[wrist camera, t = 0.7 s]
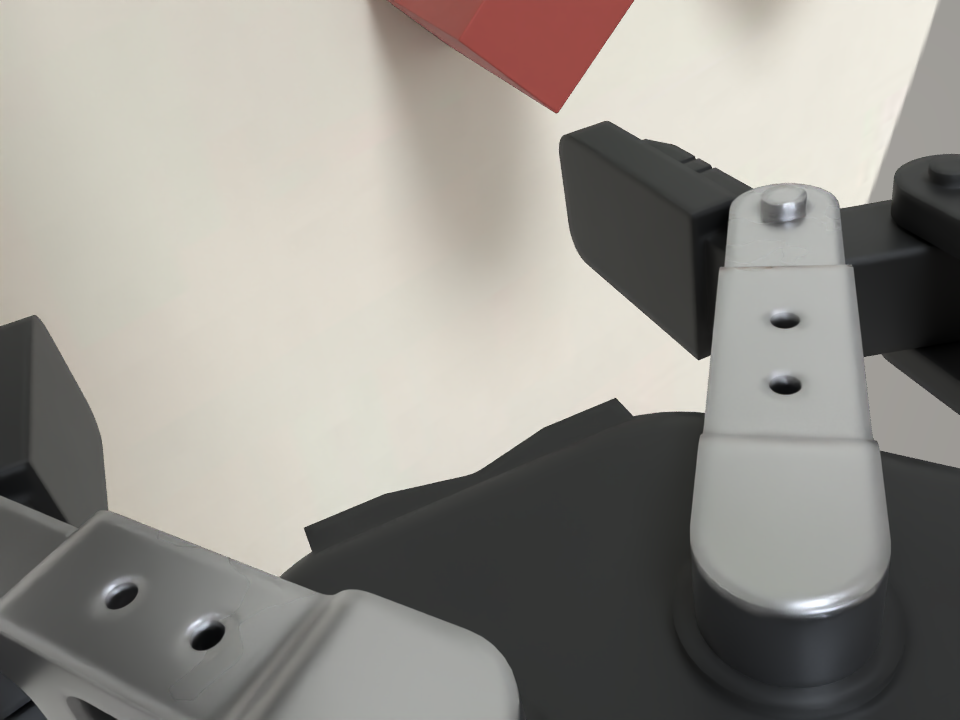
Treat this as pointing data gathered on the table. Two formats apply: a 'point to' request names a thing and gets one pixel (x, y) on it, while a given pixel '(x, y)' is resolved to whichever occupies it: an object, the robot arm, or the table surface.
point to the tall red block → (524, 38)
